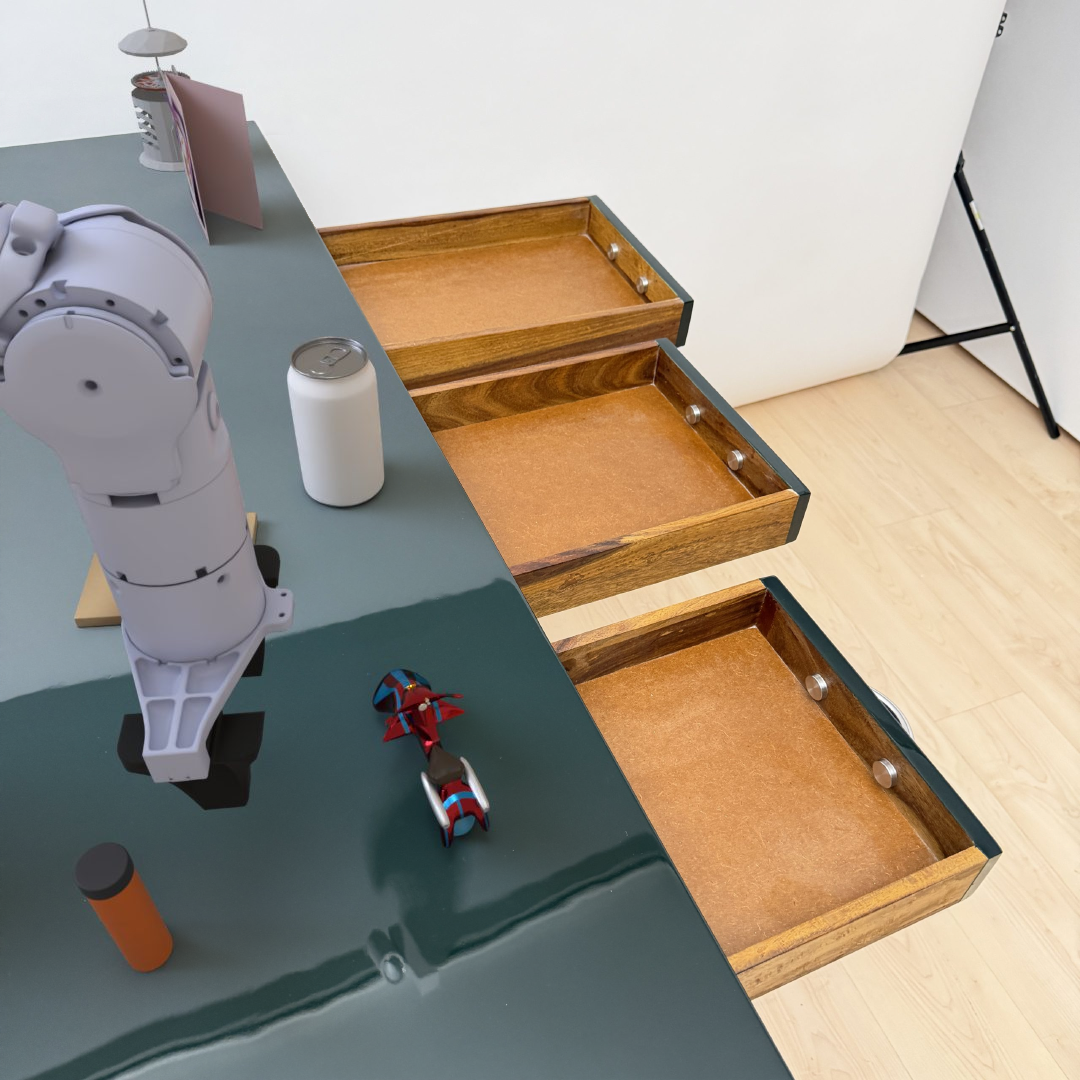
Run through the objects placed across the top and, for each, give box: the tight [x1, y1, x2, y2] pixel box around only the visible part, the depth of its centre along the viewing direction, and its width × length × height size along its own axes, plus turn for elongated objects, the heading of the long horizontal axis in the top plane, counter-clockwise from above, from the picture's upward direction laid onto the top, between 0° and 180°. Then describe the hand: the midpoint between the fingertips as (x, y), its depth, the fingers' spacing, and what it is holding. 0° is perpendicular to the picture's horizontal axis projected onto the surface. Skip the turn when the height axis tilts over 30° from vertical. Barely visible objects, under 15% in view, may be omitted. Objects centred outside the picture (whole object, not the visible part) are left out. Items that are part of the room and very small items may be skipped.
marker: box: [73, 841, 174, 973], centre depth 43 cm, size 2×2×9 cm
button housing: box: [73, 511, 259, 628], centre depth 64 cm, size 11×10×2 cm
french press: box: [117, 0, 191, 173], centre depth 111 cm, size 10×12×25 cm
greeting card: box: [162, 72, 265, 246], centre depth 101 cm, size 11×7×15 cm, turn 25°
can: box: [286, 336, 385, 508], centre depth 69 cm, size 6×6×12 cm
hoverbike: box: [371, 668, 491, 849], centre depth 52 cm, size 5×12×6 cm, turn 26°
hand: (234, 733), depth 45 cm, fingers open, 7 cm apart
